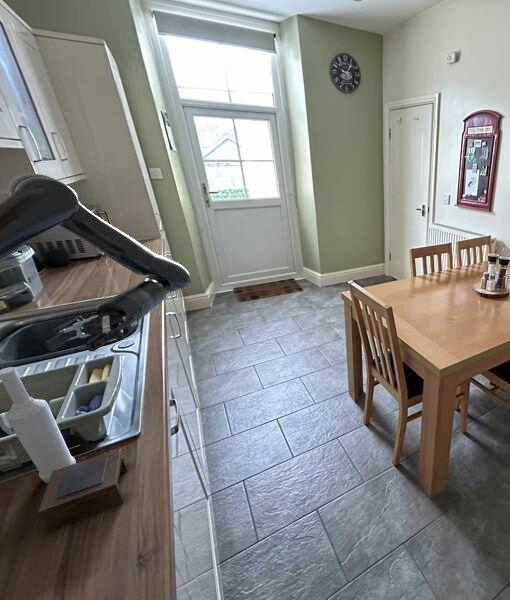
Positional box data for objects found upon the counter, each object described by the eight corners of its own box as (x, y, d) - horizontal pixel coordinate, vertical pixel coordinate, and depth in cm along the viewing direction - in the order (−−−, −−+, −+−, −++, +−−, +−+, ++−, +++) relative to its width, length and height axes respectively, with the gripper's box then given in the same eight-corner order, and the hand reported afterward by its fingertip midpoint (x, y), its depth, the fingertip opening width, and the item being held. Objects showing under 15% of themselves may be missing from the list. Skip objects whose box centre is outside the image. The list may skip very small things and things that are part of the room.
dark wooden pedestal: (49, 531, 56) (37, 511, 54) (62, 489, 63) (52, 470, 61) (123, 502, 61) (115, 483, 59) (127, 466, 68) (120, 448, 66)
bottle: (74, 477, 65) (21, 374, 55) (38, 488, 63) (-24, 383, 53) (80, 457, 69) (32, 359, 59) (46, 468, 67) (-10, 366, 57)
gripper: (92, 294, 79) (24, 332, 65) (150, 294, 79) (94, 333, 65) (106, 320, 83) (44, 361, 69) (161, 321, 83) (110, 362, 69)
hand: (68, 347), depth 67 cm, fingers open, 8 cm apart
